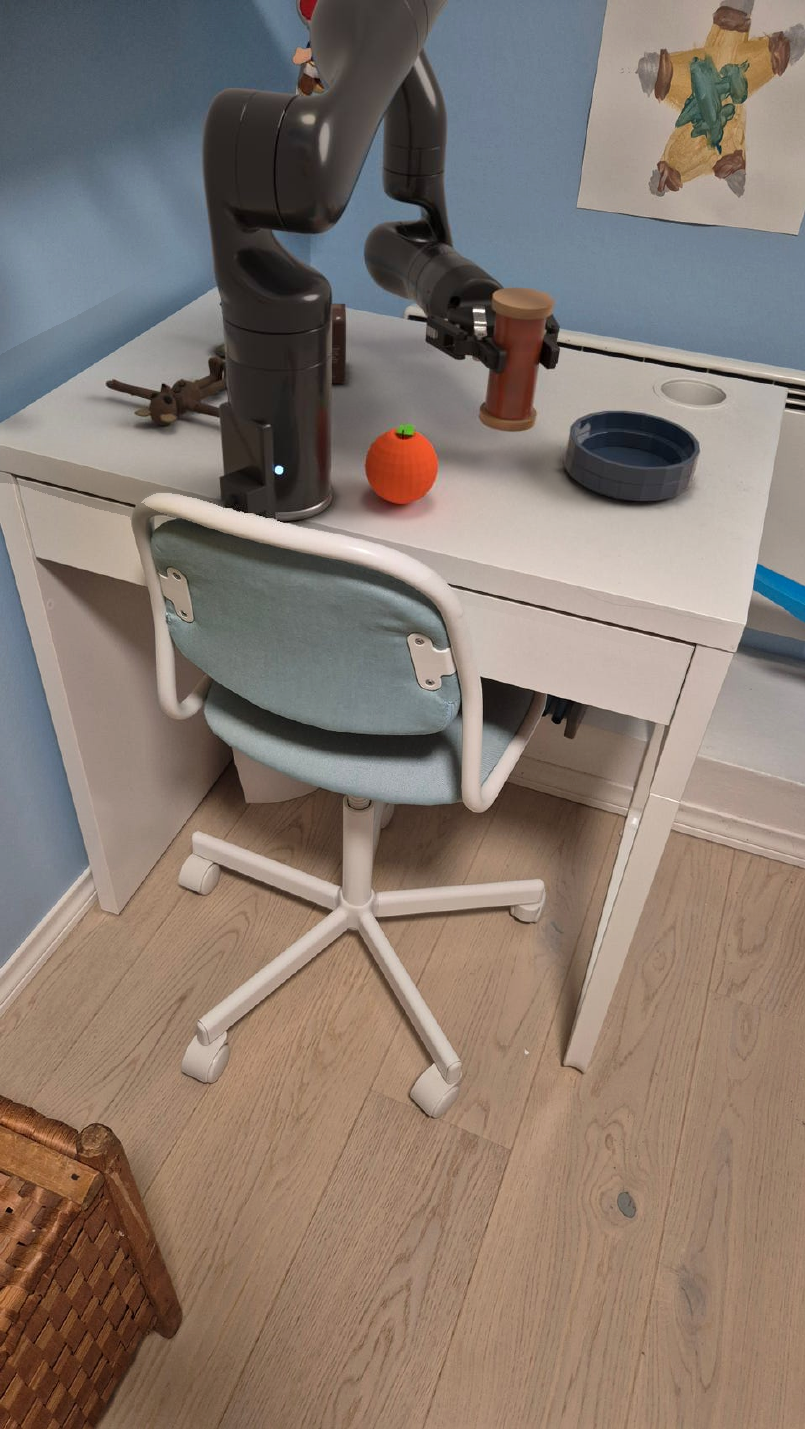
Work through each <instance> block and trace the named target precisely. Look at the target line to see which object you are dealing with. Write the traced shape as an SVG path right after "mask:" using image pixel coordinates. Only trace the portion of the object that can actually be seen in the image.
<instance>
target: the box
mask: <svg viewBox="0 0 805 1429" xmlns="http://www.w3.org/2000/svg"><path fill="white" fill-rule="evenodd" d="M346 312H347V310H346V303H333V302H332V384H345V383H346V370H347V368H346V366H347V313H346Z"/></svg>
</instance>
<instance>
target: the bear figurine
mask: <svg viewBox="0 0 805 1429" xmlns="http://www.w3.org/2000/svg"><path fill="white" fill-rule="evenodd" d="M207 366H208V369H209V375H206V376H204V377H203V378H199V379H196V380H195V381H191V380H186V379H184V378H181V379H179V380H177V381H176V382H175V383H173V385H172V387H171V386H170V385H168V384H167V383H161V386H160V389H159V390H160V391H159V390H155V389H150V388H145V387H141V386H136V385H133V384H129V383H126V382H121V381H120V380H117V379H115V378H113V379H112V380H111V379H110V380H107V381H106V382H105V386H106V387H107V388H108V389H110V390H113V391H116V392H119V393H123V394H128V395H130V396H132V397H139V398H142V399H145V400H149V401H150V402H149V406H148V407H147V408H146V407H145V408H140V409H138V410H136V411H134V415H136V416H138V417H142V418H146V417H149V416H150V418H151V420H152V422H153V423H154V424H157V425H159V426H164V427H165V426H166V427H167V426H170V425H171V424H172V423H175V422H176V421H178V416H177V415H183V414H185V413H187V412H190V413H196V414H198V415H200V414H201V415H206V416H210V417H215V418H218V419H220V415H219V406H214V405H211V404H208V403H204V402H202V400H204V399H206V398H209V397H210V396H212V395H217V394H218V393H219V392H220V391H225V390H227V378H226V362H225V360H224V359H223V358H219V356H217V355H216V356H212V357H209V358H208V360H207Z"/></svg>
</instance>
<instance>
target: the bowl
mask: <svg viewBox="0 0 805 1429" xmlns="http://www.w3.org/2000/svg"><path fill="white" fill-rule="evenodd" d="M566 444H567V445H566V449H565V456H564V468H565V469H566V471H567V473H568V474H569V476H570V477H571V478H572V479H574V480H575V481H576V482H578V484H580V485H581V486H584V487H586V488H587V489H589V490H591V491H593V492H596V493H597V494H600V495H601V496H602V495H603V496H606V497H607V498H611V499H612V498H613V499H616V500H621V501H629V502H653V501H654V502H655V501H661V500H666V499H670V498H674V497H677V496H679V495H680V494H682V493H683V492H686V491H687V490H688V488H689V487H690V485H691V483H692V482H693V479H694V476H695V471H696V468H697V464H698V461H699V457H700V454H701V447H700V441H699V440H698V439H697V438H696V437H695V435H694V434H693V433H692V431H689V430H688V429H686V428H685V427H683V426H682V425H681V424H678V423H677V422H673V421H672V420H668V419H666V418H664V417H661V416H657V415H653V414H649V413H646V412H640V411H630V410H603V411H596V412H591V413H588V414H586V415H585V414H584V415H583V416H581V417H579V418H577V419H576V420H575V421H574V422H573V423H572V424H571V425H570V427H569V433H568V438H567V443H566Z"/></svg>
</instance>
